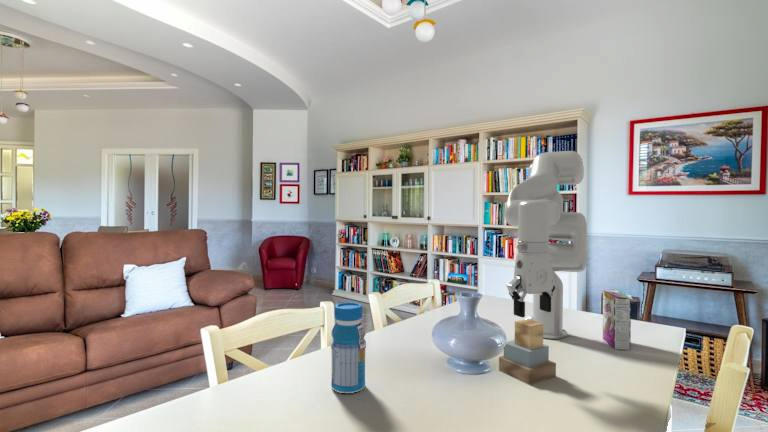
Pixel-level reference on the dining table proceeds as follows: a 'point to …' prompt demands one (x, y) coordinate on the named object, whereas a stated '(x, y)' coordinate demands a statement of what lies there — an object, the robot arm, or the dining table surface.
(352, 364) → the beverage bottle
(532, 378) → the walnut slab
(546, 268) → the robot arm
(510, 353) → the slate-grey block
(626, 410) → the dining table surface
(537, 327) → the oak block
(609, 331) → the candy bar box
